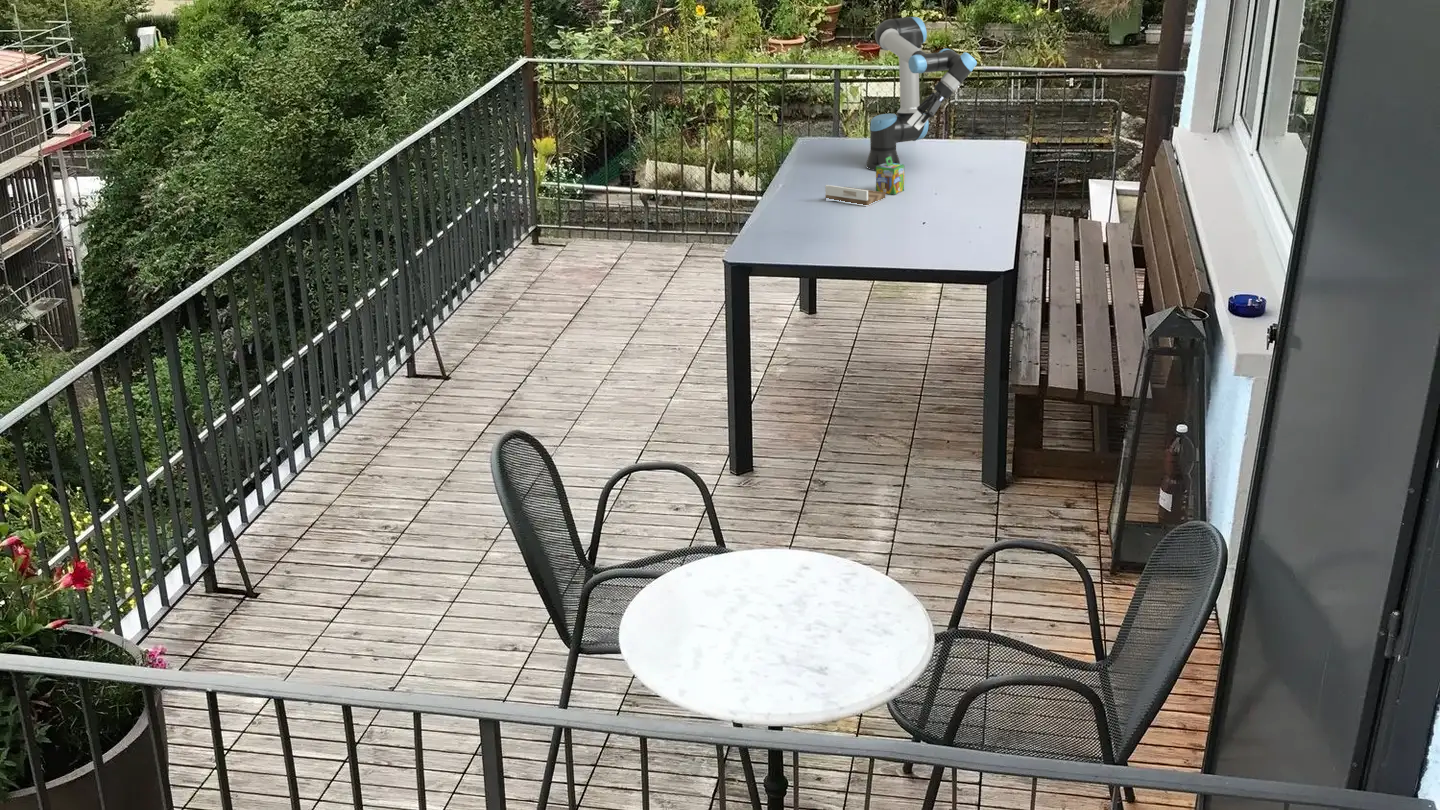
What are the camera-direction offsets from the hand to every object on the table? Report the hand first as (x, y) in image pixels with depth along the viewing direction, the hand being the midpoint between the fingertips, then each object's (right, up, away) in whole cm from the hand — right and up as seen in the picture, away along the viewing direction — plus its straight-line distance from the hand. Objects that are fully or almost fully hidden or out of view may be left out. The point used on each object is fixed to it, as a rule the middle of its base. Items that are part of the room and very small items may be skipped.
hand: (912, 126), depth 567 cm
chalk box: (-8, -26, +8) cm, 29 cm away
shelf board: (-24, -31, -1) cm, 39 cm away
